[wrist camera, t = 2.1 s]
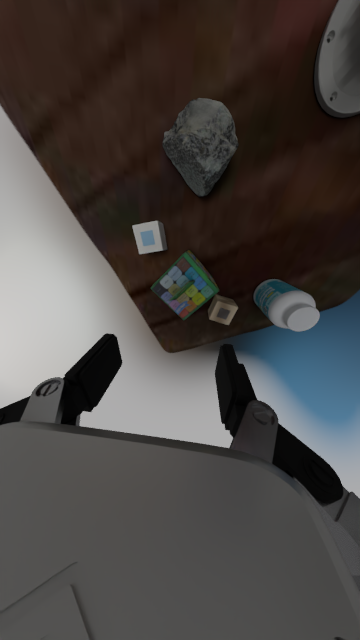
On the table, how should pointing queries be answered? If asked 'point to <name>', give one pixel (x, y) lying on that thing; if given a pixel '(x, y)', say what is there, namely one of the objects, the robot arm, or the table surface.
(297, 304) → the pill bottle
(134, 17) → the table surface
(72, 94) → the table surface
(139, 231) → the marked block white
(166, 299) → the chalk box
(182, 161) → the stone
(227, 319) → the marked block beech
